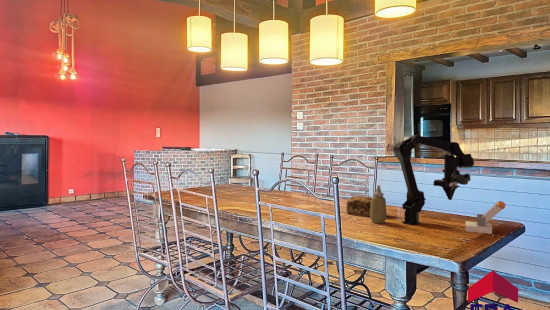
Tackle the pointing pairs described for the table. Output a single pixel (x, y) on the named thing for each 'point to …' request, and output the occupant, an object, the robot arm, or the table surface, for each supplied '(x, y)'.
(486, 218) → the lever
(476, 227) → the block
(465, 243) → the table surface
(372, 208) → the squeeze bottle
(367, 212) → the bread
